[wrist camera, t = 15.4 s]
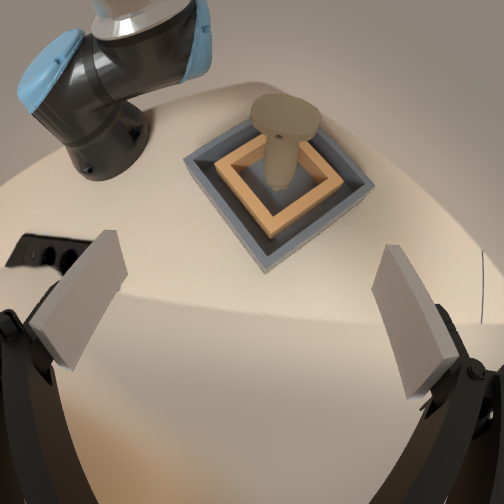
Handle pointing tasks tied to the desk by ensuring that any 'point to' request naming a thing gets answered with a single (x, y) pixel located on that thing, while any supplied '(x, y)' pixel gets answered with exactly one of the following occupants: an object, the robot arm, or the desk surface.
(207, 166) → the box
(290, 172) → the handle
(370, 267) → the desk surface
